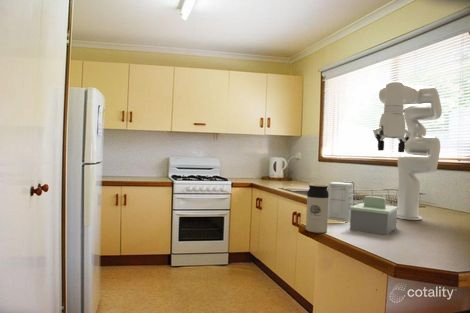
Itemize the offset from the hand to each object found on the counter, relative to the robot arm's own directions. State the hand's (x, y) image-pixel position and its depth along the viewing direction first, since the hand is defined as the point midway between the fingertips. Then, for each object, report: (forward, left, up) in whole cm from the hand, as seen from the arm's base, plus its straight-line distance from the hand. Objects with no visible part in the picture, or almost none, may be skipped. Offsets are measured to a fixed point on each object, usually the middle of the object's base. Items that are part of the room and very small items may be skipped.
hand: (390, 151), depth 159 cm
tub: (+9, -3, -32) cm, 34 cm away
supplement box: (-3, -21, -32) cm, 39 cm away
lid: (+9, -3, -25) cm, 27 cm away
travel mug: (+31, -19, -32) cm, 49 cm away
